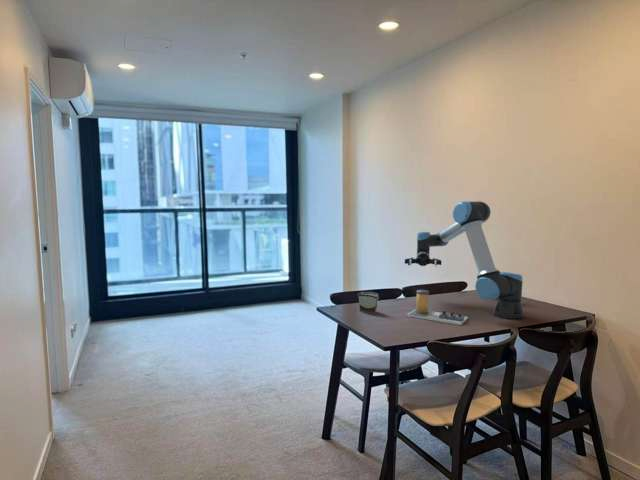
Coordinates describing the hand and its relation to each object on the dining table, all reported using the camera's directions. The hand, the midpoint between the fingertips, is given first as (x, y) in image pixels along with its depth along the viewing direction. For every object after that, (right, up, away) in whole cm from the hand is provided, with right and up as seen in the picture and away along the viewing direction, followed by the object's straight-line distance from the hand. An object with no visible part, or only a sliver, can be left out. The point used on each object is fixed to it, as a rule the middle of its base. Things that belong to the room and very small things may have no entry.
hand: (422, 263), depth 241 cm
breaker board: (+5, -28, -12) cm, 30 cm away
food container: (-29, -26, 0) cm, 39 cm away
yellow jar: (-2, -25, -7) cm, 27 cm away
